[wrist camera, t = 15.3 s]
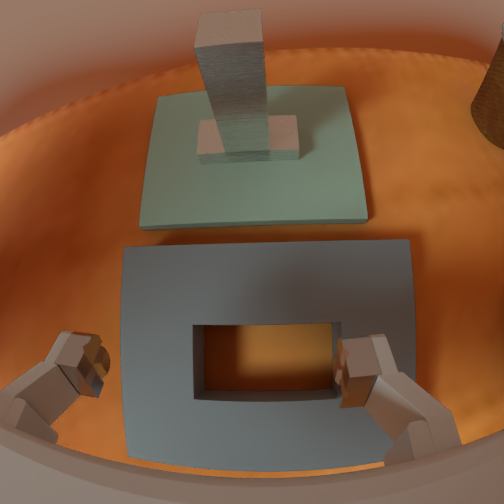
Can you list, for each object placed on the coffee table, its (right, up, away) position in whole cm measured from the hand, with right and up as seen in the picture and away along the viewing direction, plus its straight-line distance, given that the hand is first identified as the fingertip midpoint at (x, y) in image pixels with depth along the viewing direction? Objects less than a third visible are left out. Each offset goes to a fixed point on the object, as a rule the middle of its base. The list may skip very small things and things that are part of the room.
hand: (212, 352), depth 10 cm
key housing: (+2, -4, +10) cm, 11 cm away
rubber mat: (+1, +11, +13) cm, 17 cm away
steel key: (+1, +11, +12) cm, 17 cm away
